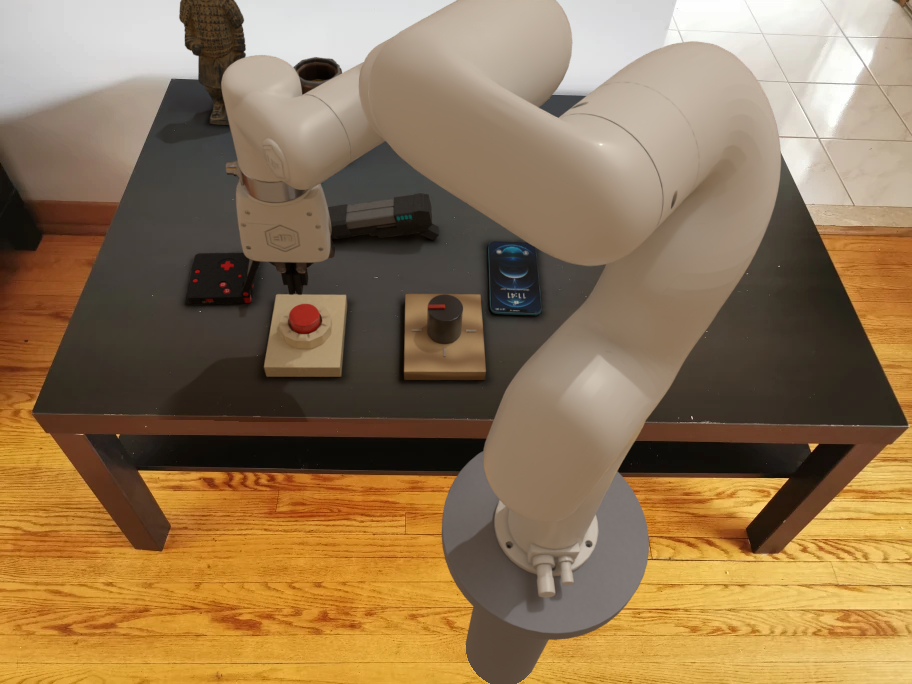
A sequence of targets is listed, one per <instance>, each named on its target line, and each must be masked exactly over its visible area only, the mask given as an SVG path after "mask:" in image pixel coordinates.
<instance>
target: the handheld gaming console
mask: <svg viewBox="0 0 912 684" xmlns="http://www.w3.org/2000/svg"><path fill="white" fill-rule="evenodd" d="M260 263H261V261H254V260H251V259H249V258H247V257H246V256H245V255H244V252H203V253H201V252H200V253H199V252H198V253H196V254H195V255H194V257H193V263H192V267H191V272H190V276H189V281H188V284H187V285H188V286H187V290H186V293H185V294H186V295H185V296H186V299H187V301H188V303H189V305H226V304H227V305H228V304H229V305H231V304H233V305H234V304H235V305H236V304H250V303H251V302H252V299H253V297H254V296H253V295H254V291H255V282H256V276H257V271H258V268H259V265H260Z"/></svg>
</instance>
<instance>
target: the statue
mask: <svg viewBox="0 0 912 684" xmlns="http://www.w3.org/2000/svg"><path fill="white" fill-rule="evenodd" d="M178 19H179V21H180V22H181V23H182V24H183V27H184V47H185V48H186V49H187V50H188V51H190V52H191V53H192V55H193V56H196V57H197V58H198V61H197V62H198V65H197V66H198V67H197V68H198V69H197V70H198V74H197V75H198V76H197V80H198V82H199V84H200V85H201V86H204V88H205V90H206V92H207V93H208V95H209V97H210V99H211V101H212V103H213V106H212V112H211V114H210V117H209V120H208V121H209V124H211V125H218V126H219V125H221V126H230V125H229V120H228V116H227V112H226V108H225V103H224V99H223V94H222V87H221V82H222V77H223V74H224V72H225V71H226V69H227V68H228V67H229V66H230V65H231V64H233V63H234V62H236V61H237V60H239V59H242V58H245V57H247V53H246V52H245V51H246V50H247V49H246V48H247V47H246V46H247V45H246V37H245V31H244V27H243V24H244V23H245V18H244V15H243V13H242V11H241V8H240V6H239V5H238V3H237V2H236V0H180V2H179V15H178Z"/></svg>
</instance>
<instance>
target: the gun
mask: <svg viewBox="0 0 912 684" xmlns="http://www.w3.org/2000/svg"><path fill="white" fill-rule="evenodd" d="M327 207H328V211H329V216H330V221H331V236H330V237H331V240H332V239H333V240H338V239H347V238H353V237H356V236H364V235H370V237H376V236H378V238H379V239H383V238H391V237H397V236H398V237H399V236H404V237H409V236H410V235H413V234H418V235H421V236H424V237H425V238H427V239H428V240H431V241H435V240H436V239H437V238H438V237H439V235H440V230H439V226H438V225H436V224H434V223H433V212H432V211H433V210H432V202H431V198H430V195H429V194H428V193H424V192H422V193H420V192H417V193H414V194H408V195H401V196H394V197H393V198H391V199H383V200H382V199H381V200H376V201H369V202H361V203H354V204H339V205H332V206H327Z"/></svg>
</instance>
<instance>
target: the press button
mask: <svg viewBox="0 0 912 684" xmlns="http://www.w3.org/2000/svg"><path fill="white" fill-rule="evenodd" d="M289 319H290V324H291V327H292V329H293V330H294V331H295V332H297V333H300V334H308V333H312V332H314V331H315V330H316V329H317V328H318V327H319V325H320V316H319V311H318V309H317V308H316V307H315V306H313V305H311V304H300V305H297V306H295V307H294V308H293V309H292V310H291V311H290V313H289Z"/></svg>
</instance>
